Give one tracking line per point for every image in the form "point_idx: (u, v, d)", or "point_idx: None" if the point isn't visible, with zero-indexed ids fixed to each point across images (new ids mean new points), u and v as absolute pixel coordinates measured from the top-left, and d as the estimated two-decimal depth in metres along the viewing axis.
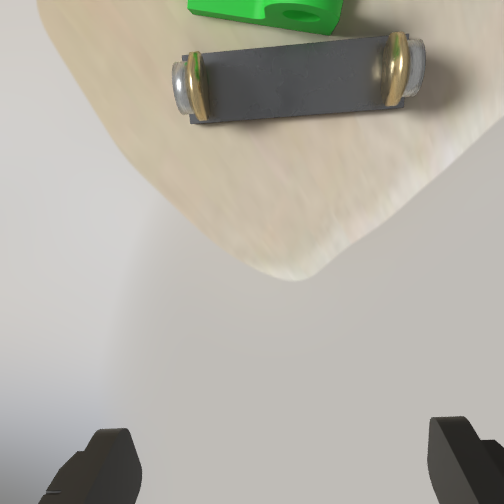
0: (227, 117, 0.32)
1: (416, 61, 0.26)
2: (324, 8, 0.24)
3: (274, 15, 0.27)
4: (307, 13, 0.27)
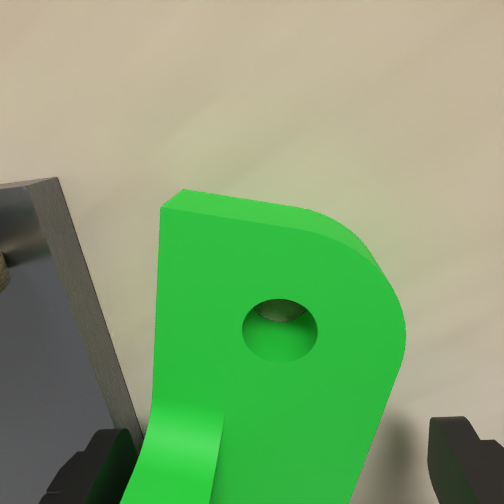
0: None
1: None
2: None
3: None
4: None
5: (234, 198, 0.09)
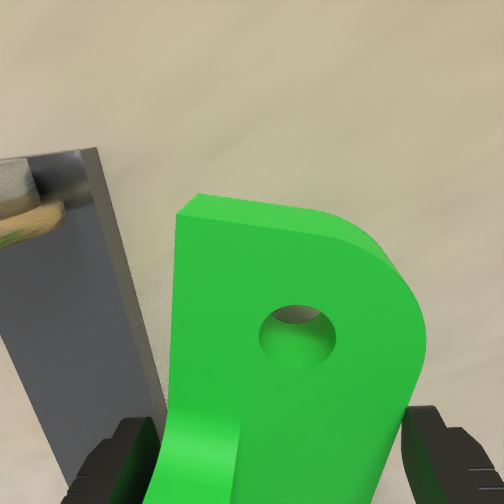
0: None
1: None
2: None
3: None
4: None
5: (248, 203, 0.09)
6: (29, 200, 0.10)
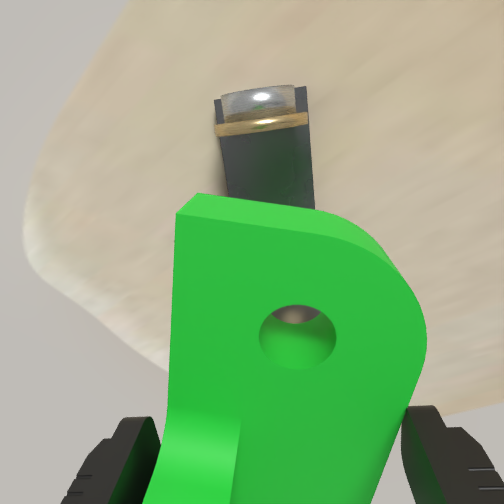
0: (227, 157, 0.23)
1: None
2: None
3: None
4: None
5: (248, 202, 0.09)
6: None
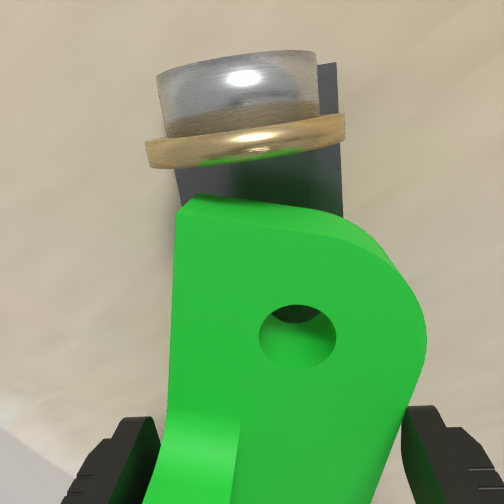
0: (187, 195, 0.12)
1: None
2: None
3: None
4: None
5: (248, 202, 0.09)
6: None
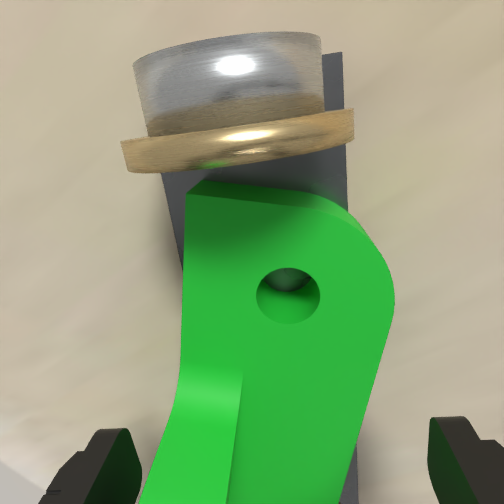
0: (176, 201, 0.11)
1: None
2: None
3: None
4: None
5: (244, 186, 0.11)
6: None
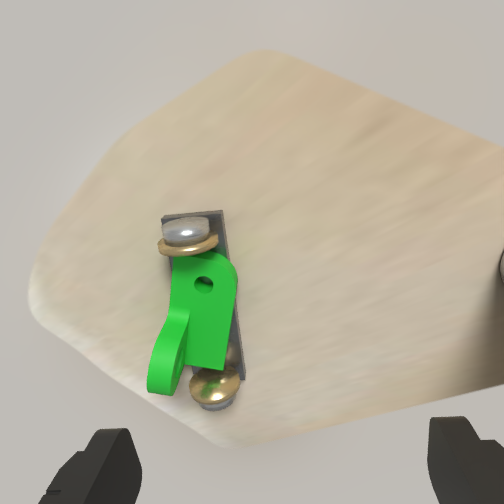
0: None
1: (216, 405, 0.35)
2: (148, 391, 0.30)
3: None
4: None
5: None
6: (210, 233, 0.31)
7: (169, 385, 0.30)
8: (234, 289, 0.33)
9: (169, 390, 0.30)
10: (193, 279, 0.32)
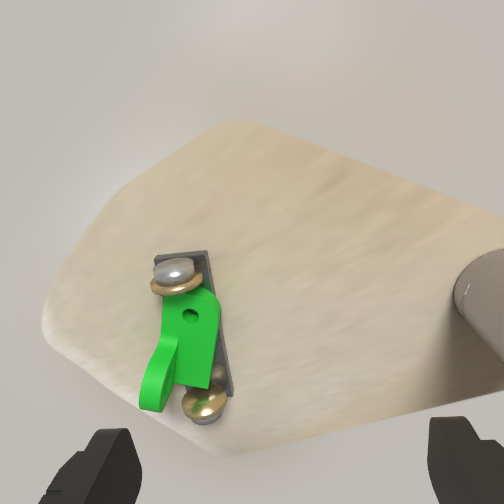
0: None
1: (205, 420, 0.40)
2: (140, 408, 0.35)
3: None
4: None
5: None
6: (194, 273, 0.36)
7: (158, 404, 0.34)
8: (216, 320, 0.37)
9: (158, 408, 0.35)
10: (181, 311, 0.37)
